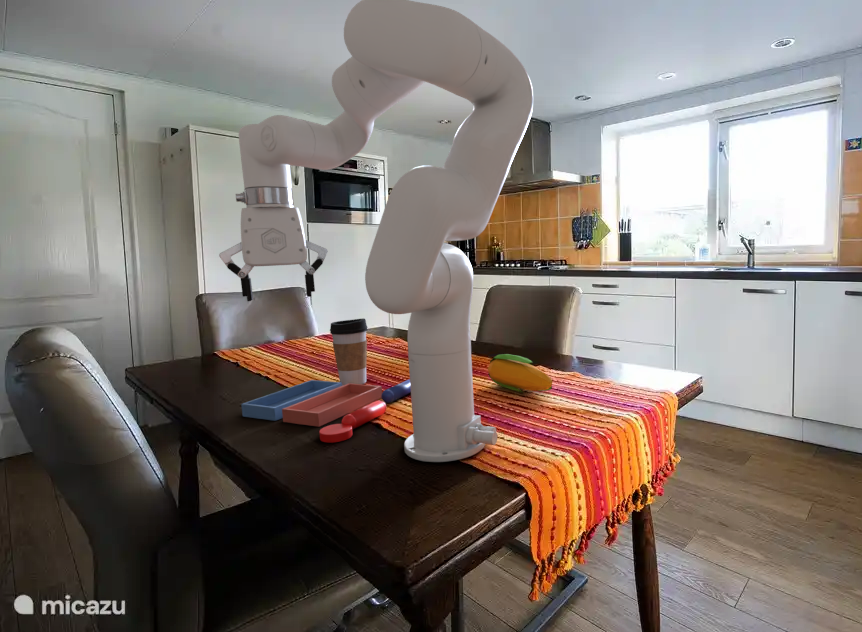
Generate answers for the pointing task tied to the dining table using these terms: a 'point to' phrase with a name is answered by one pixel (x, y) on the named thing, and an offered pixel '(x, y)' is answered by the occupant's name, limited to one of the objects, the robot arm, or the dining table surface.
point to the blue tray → (285, 399)
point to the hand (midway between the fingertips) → (280, 298)
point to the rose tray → (331, 404)
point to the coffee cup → (350, 350)
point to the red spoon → (352, 422)
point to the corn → (518, 374)
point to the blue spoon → (396, 392)
